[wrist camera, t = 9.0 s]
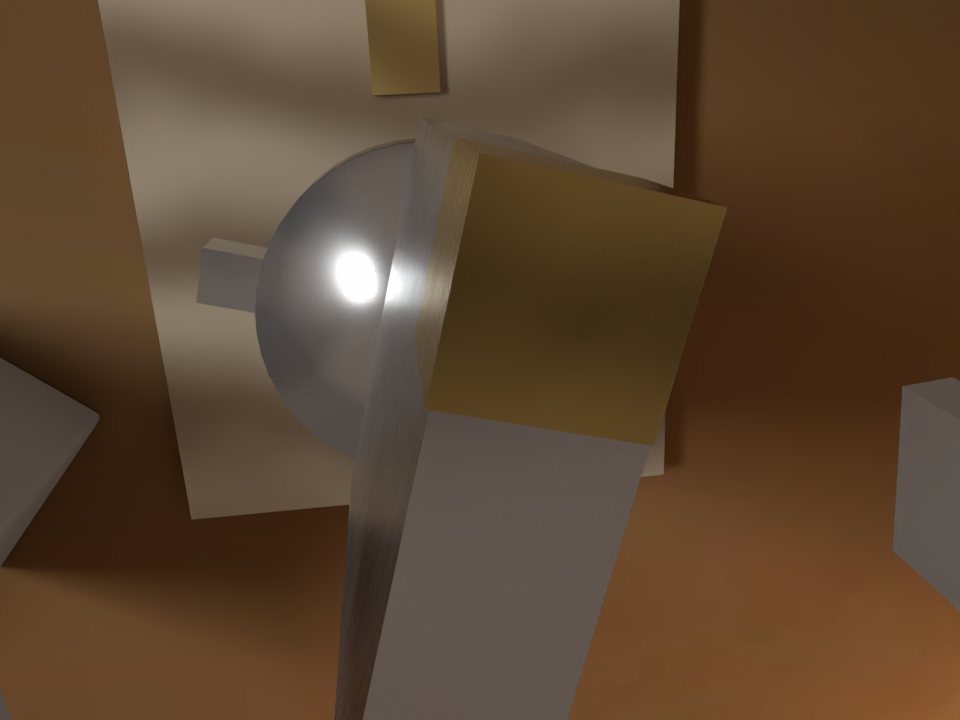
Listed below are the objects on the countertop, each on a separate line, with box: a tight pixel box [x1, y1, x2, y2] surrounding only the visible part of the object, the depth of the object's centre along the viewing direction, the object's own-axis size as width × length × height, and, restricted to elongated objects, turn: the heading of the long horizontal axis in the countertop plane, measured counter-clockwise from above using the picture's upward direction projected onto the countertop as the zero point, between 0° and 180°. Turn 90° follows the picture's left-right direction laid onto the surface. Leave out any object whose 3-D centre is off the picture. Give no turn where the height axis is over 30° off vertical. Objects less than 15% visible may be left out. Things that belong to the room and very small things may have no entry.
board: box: [98, 0, 680, 520], centre depth 31 cm, size 20×20×2 cm
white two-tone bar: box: [196, 117, 727, 720], centre depth 18 cm, size 13×11×16 cm
